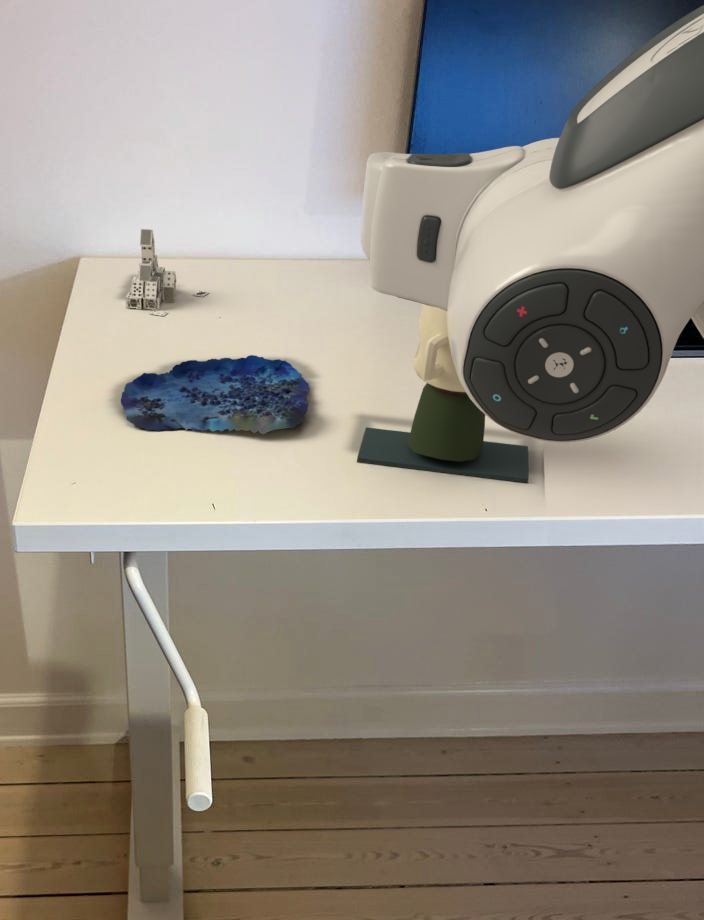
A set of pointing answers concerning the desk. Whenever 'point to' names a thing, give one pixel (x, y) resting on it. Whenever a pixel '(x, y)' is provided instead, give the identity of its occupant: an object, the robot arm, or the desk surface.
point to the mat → (490, 464)
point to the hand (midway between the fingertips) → (544, 176)
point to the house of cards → (152, 280)
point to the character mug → (443, 398)
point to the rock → (219, 396)
